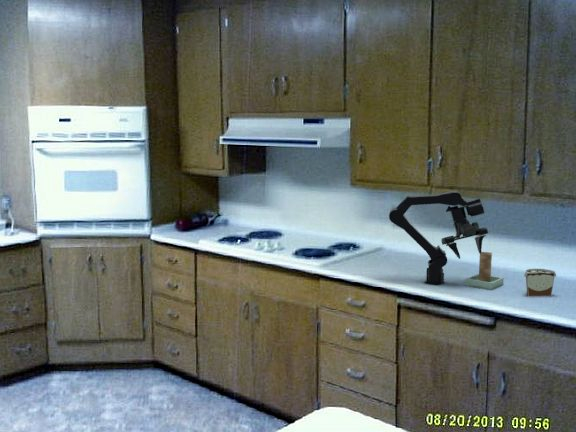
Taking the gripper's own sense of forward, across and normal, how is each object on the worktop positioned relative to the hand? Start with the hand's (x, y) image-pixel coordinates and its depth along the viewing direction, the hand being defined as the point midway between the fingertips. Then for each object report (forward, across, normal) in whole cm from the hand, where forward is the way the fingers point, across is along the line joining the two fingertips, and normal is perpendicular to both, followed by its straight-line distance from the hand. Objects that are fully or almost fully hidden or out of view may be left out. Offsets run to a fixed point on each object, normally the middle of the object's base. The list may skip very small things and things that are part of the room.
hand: (470, 256), depth 270 cm
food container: (+21, +18, -11) cm, 30 cm away
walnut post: (+13, +4, +4) cm, 14 cm away
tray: (+14, +4, +4) cm, 15 cm away
